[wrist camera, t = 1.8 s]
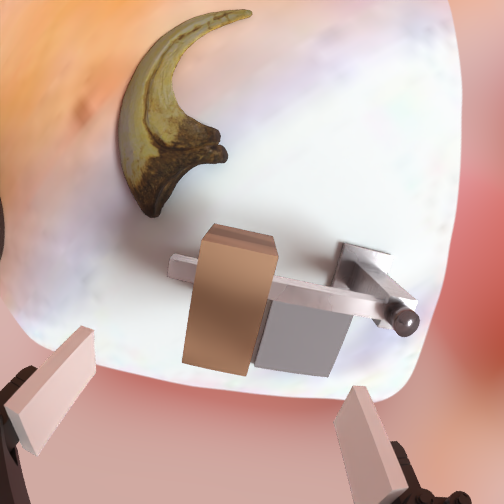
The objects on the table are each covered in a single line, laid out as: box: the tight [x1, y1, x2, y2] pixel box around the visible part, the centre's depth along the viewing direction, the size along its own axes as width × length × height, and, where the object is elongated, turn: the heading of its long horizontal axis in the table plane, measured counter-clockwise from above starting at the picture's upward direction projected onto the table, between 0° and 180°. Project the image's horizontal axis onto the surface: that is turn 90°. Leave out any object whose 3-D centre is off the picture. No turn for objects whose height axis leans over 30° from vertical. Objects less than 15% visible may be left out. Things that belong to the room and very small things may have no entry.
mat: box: [254, 300, 353, 377], centre depth 28 cm, size 8×8×1 cm
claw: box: [118, 9, 252, 218], centre depth 22 cm, size 20×10×3 cm, turn 173°
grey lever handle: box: [167, 243, 420, 337], centre depth 22 cm, size 18×5×10 cm, turn 77°
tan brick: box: [182, 224, 278, 376], centre depth 22 cm, size 8×4×11 cm, turn 167°
